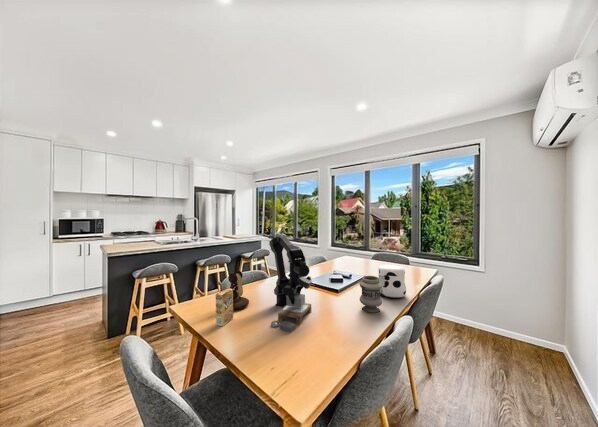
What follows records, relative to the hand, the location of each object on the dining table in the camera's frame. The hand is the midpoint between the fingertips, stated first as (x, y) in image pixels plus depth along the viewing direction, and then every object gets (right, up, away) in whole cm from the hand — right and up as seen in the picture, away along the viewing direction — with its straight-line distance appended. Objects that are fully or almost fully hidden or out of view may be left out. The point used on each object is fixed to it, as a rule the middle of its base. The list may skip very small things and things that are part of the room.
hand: (295, 301), depth 122 cm
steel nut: (-9, -8, -10) cm, 16 cm away
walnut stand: (0, -7, 0) cm, 7 cm away
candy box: (-35, -8, -6) cm, 36 cm away
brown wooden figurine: (-35, -8, +13) cm, 38 cm away
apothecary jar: (+41, -7, +6) cm, 42 cm away
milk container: (+61, -7, +28) cm, 68 cm away
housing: (0, -1, 0) cm, 1 cm away
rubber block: (-3, -8, -14) cm, 16 cm away
